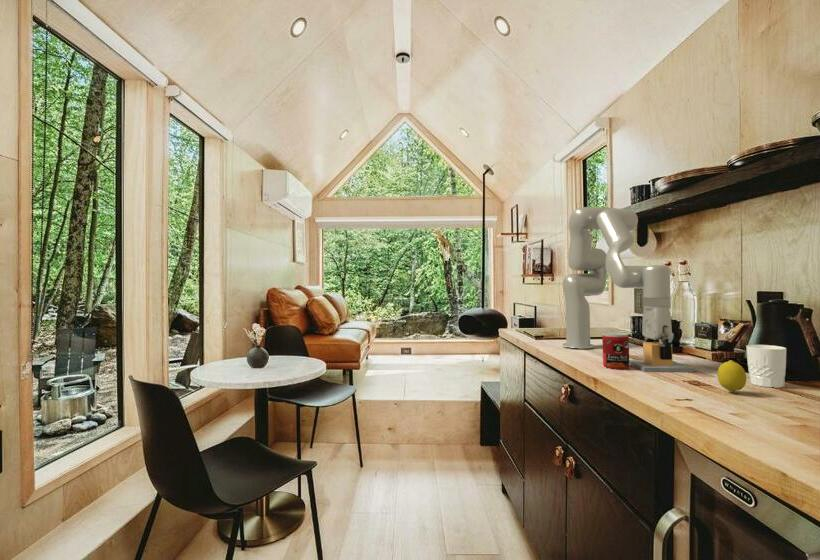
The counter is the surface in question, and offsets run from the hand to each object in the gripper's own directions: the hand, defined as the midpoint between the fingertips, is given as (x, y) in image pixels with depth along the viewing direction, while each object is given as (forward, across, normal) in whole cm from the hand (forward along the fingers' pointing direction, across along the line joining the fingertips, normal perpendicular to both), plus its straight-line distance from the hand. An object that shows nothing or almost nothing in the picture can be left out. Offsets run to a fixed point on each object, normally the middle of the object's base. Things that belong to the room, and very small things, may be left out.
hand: (658, 356), depth 127 cm
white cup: (+4, +21, +17) cm, 27 cm away
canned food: (+4, 0, -13) cm, 14 cm away
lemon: (+4, +30, +3) cm, 30 cm away
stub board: (+4, 0, 0) cm, 4 cm away
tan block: (+2, 0, 0) cm, 2 cm away
